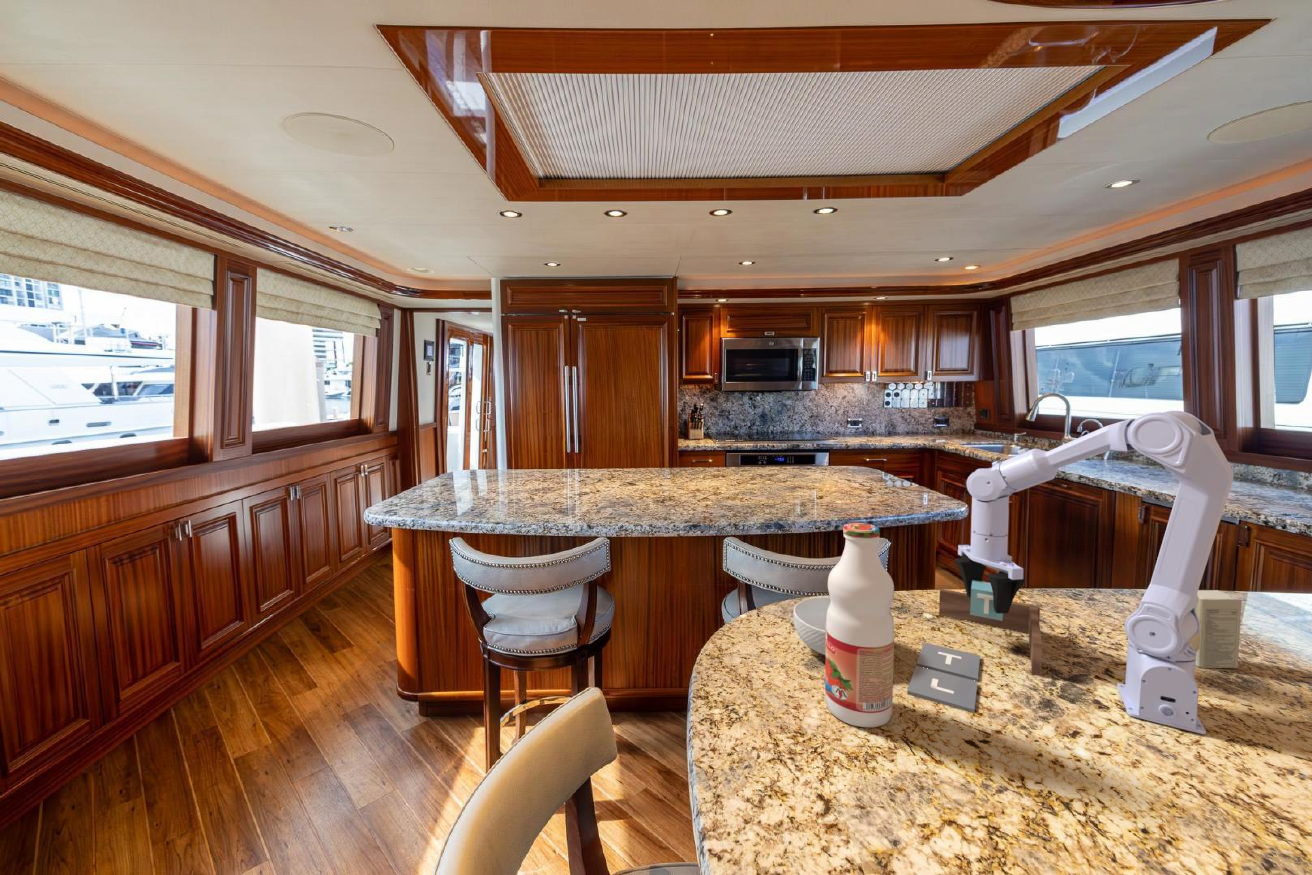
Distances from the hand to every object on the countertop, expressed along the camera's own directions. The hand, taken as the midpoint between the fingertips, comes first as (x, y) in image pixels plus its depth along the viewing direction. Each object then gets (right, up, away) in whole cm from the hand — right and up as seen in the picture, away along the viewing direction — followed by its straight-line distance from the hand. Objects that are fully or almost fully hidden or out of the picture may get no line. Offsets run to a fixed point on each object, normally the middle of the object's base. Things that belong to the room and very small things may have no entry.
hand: (986, 604), depth 96 cm
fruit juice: (-32, -10, -19) cm, 38 cm away
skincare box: (+34, -8, -7) cm, 35 cm away
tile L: (-16, -9, -14) cm, 23 cm away
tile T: (-10, -8, -6) cm, 14 cm away
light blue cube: (0, -2, 0) cm, 2 cm away
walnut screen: (+1, -8, +1) cm, 8 cm away
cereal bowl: (-28, -9, -1) cm, 29 cm away
